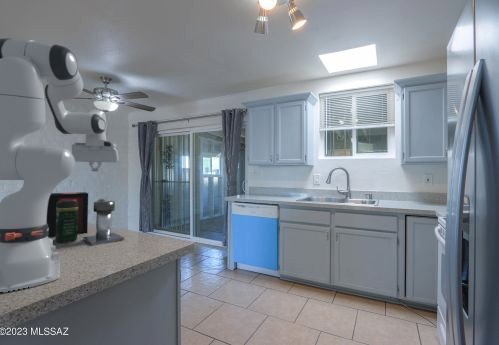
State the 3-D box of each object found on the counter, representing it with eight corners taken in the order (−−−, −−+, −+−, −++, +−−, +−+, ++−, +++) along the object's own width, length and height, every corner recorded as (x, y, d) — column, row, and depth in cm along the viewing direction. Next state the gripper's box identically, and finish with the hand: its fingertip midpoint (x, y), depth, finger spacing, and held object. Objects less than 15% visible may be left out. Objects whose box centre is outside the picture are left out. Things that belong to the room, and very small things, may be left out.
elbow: (116, 212, 116) (116, 201, 116) (94, 213, 111) (94, 202, 111) (111, 208, 128) (111, 198, 128) (91, 209, 123) (91, 199, 123)
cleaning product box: (45, 237, 118) (46, 194, 119) (45, 234, 125) (46, 193, 125) (87, 233, 129) (88, 193, 129) (84, 230, 136) (85, 192, 136)
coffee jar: (79, 241, 114) (80, 199, 114) (56, 244, 108) (57, 200, 109) (75, 237, 121) (76, 197, 121) (54, 239, 116) (55, 198, 116)
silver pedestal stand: (124, 240, 117) (124, 211, 117) (91, 245, 107) (92, 214, 107) (113, 235, 126) (114, 208, 126) (82, 239, 116) (83, 211, 117)
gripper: (69, 141, 121) (68, 170, 121) (116, 143, 126) (116, 171, 126) (74, 143, 127) (73, 171, 127) (119, 144, 132) (119, 171, 132)
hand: (95, 171), depth 126 cm, fingers closed
